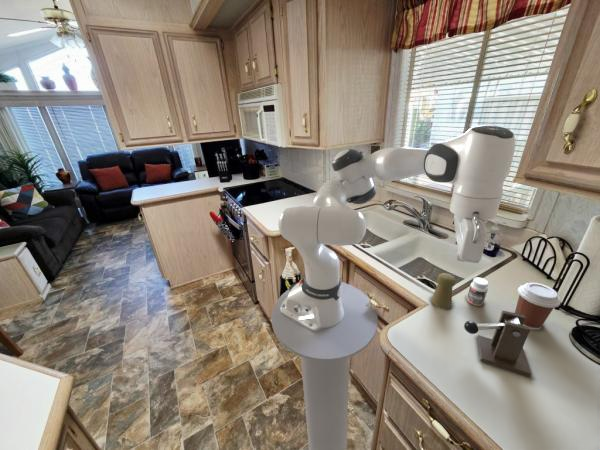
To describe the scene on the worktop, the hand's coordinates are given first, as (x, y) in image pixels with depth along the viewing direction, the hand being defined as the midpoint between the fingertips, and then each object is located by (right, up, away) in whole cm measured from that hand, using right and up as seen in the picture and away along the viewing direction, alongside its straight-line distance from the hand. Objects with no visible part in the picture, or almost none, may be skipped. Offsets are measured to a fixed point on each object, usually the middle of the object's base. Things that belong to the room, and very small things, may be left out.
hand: (460, 258), depth 60 cm
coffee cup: (+30, -21, +15) cm, 39 cm away
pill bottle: (+20, -18, +24) cm, 36 cm away
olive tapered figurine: (+9, -18, +24) cm, 32 cm away
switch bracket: (+14, -27, +5) cm, 31 cm away
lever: (+11, -19, +3) cm, 22 cm away
